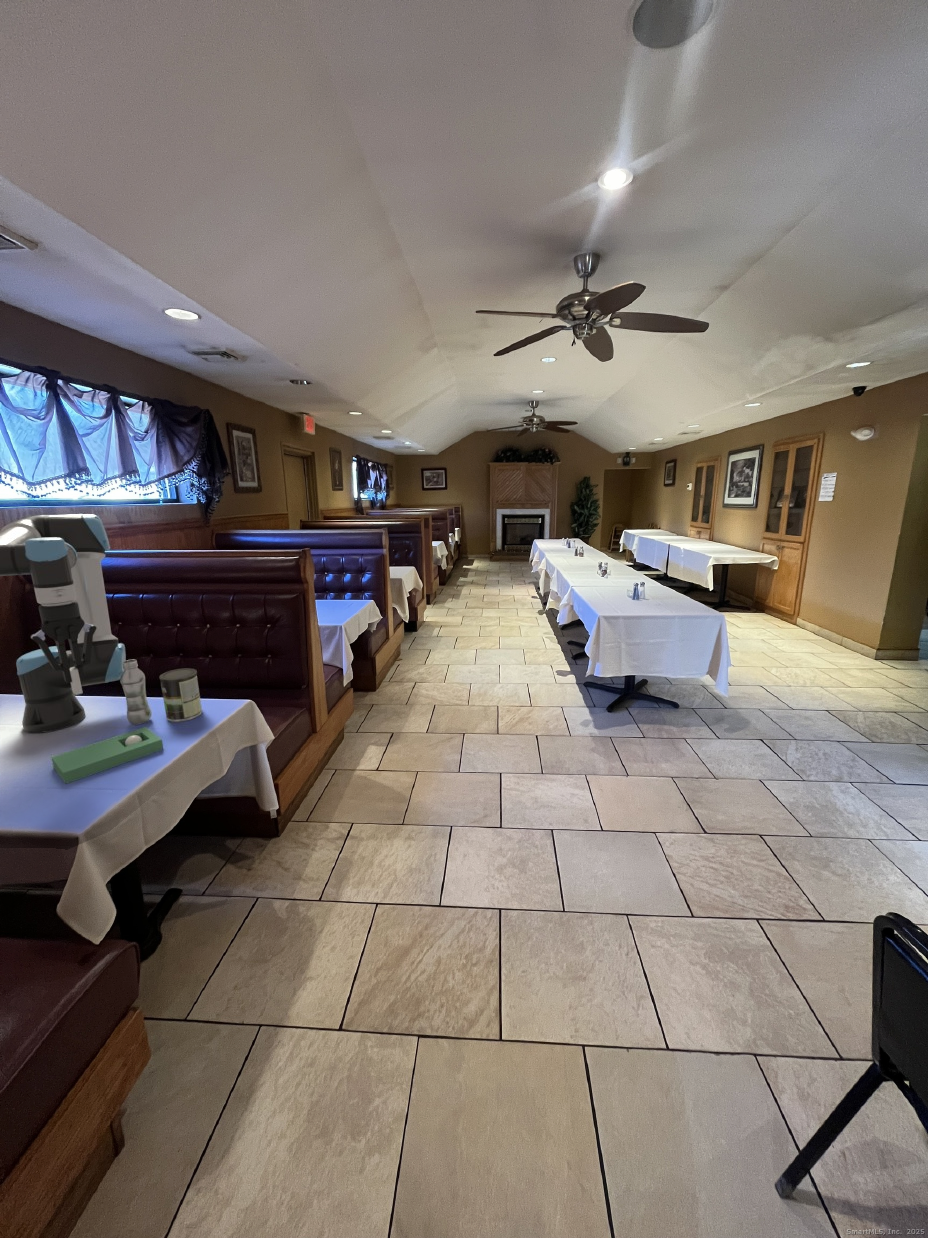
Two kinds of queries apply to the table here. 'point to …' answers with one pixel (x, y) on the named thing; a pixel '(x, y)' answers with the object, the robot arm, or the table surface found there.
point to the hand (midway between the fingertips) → (77, 692)
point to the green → (104, 755)
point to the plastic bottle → (135, 693)
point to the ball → (132, 740)
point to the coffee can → (181, 694)
